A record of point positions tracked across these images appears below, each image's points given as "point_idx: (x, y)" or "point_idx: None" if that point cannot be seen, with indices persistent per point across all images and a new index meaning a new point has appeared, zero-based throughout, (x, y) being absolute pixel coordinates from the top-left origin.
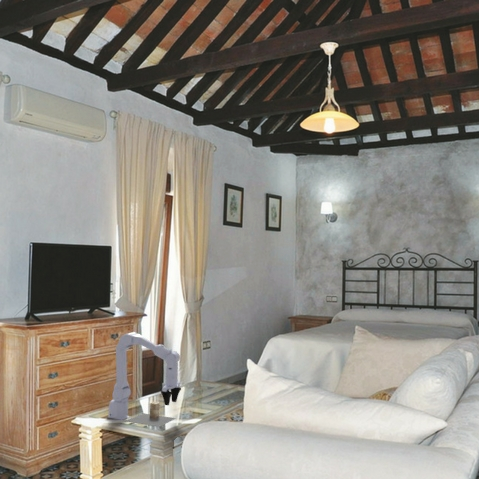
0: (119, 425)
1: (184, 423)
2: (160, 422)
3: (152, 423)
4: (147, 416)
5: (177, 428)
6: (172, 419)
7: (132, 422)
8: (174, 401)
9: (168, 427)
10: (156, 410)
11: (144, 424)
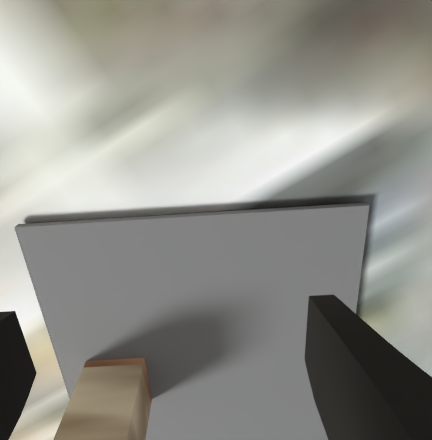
0: None
1: (75, 70)
2: (232, 267)
3: (296, 302)
4: None
5: (293, 30)
6: (76, 233)
7: None
8: (15, 340)
9: (303, 138)
10: (119, 415)
11: None
